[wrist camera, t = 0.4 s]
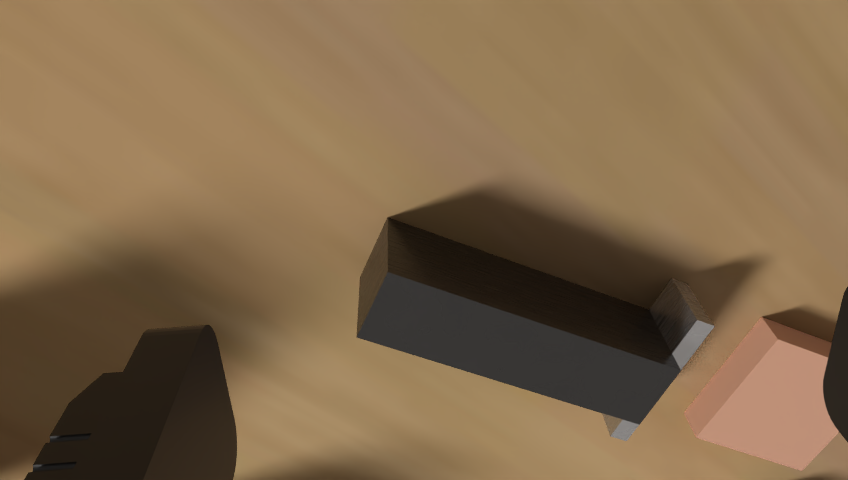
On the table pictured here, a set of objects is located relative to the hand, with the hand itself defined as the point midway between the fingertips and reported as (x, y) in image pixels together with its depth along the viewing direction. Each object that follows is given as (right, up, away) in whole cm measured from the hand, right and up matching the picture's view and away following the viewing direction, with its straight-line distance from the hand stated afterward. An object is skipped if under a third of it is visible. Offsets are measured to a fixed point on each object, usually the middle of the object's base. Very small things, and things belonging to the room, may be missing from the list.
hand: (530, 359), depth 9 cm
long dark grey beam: (+2, -1, +21) cm, 21 cm away
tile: (+15, -5, +25) cm, 29 cm away
